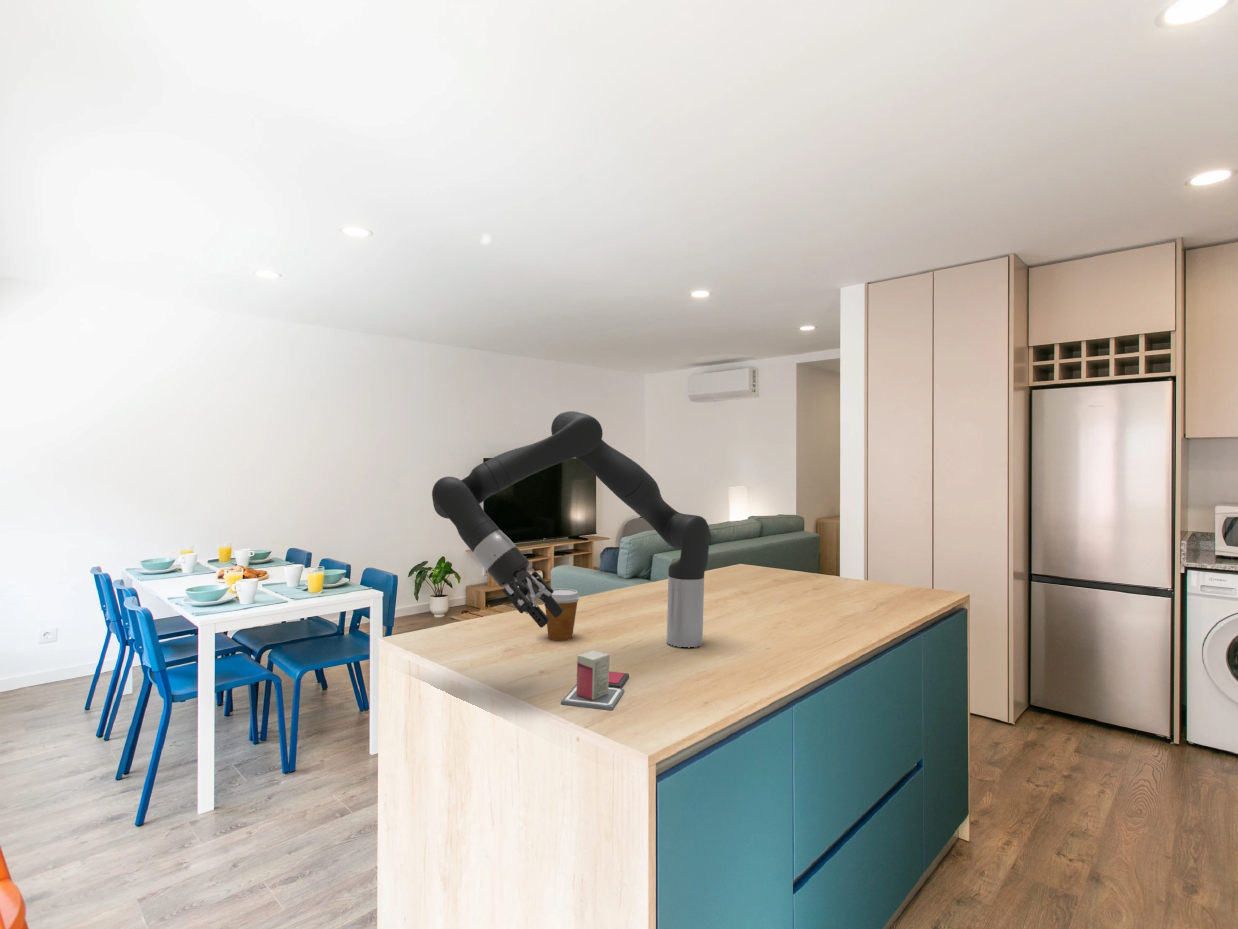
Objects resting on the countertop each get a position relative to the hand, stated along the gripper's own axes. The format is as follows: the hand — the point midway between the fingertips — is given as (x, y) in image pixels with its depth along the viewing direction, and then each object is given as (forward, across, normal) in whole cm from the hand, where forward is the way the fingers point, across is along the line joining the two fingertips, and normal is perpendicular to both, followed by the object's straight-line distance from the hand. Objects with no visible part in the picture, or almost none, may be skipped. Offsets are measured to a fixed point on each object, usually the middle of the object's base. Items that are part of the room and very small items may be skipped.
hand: (553, 619), depth 126 cm
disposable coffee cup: (+3, +39, +18) cm, 43 cm away
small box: (+16, 0, +4) cm, 17 cm away
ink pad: (+16, +10, +4) cm, 20 cm away
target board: (+16, 0, +4) cm, 17 cm away
